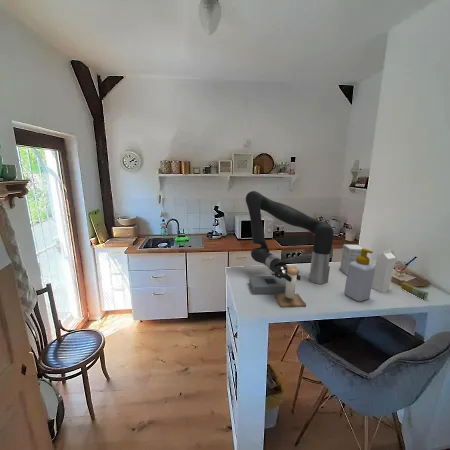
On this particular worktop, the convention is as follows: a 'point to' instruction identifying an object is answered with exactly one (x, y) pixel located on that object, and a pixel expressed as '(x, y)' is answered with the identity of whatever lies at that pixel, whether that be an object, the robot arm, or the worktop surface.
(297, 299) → the pad
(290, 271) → the plug
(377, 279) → the milk
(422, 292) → the medication box
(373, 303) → the worktop surface
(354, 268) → the soap bottle
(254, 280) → the grey base plate
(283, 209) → the robot arm
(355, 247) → the supplement box
